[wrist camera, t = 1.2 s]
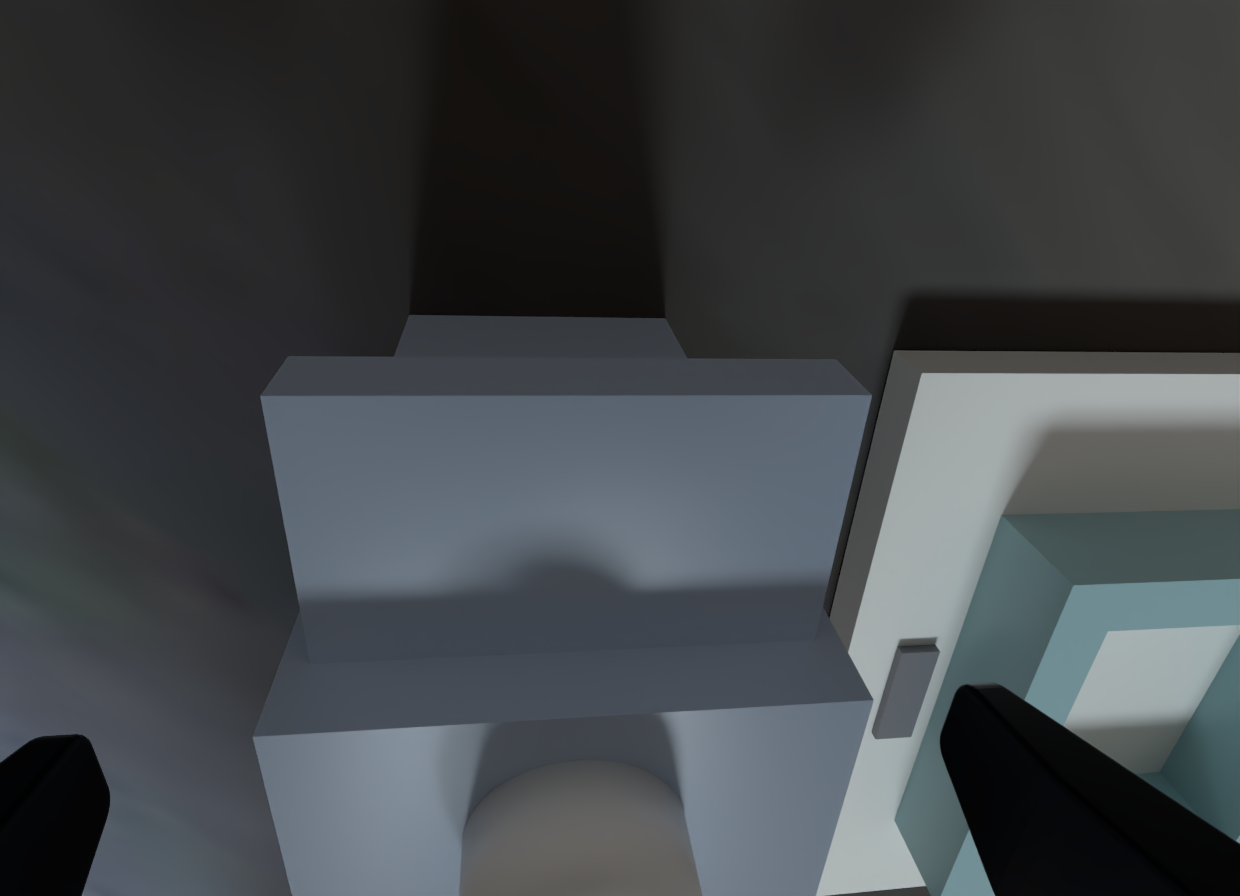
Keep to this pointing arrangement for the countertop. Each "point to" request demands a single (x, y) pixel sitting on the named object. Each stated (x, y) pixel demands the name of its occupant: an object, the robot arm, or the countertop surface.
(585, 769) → the block
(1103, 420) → the chassis plate
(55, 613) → the countertop surface
